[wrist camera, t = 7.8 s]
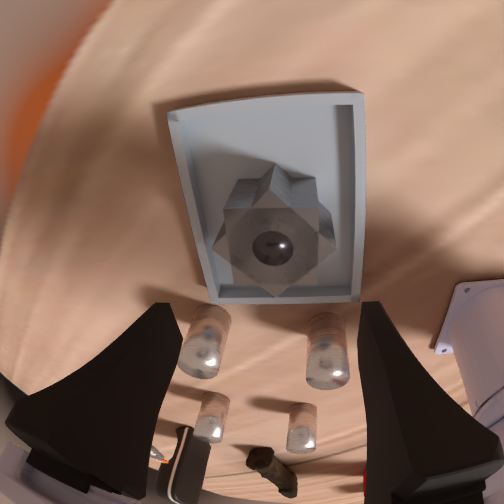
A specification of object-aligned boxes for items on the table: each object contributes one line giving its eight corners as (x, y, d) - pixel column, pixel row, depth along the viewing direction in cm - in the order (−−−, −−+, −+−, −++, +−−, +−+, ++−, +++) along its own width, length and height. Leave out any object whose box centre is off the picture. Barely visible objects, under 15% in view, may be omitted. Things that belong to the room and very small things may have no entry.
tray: (358, 91, 15) (364, 93, 14) (356, 287, 22) (359, 301, 20) (175, 108, 17) (165, 112, 15) (216, 290, 24) (211, 304, 22)
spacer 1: (227, 304, 24) (213, 354, 20) (234, 331, 26) (222, 380, 22) (190, 304, 25) (171, 352, 21) (199, 330, 26) (183, 377, 22)
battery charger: (169, 423, 39) (147, 493, 30) (192, 425, 38) (172, 499, 29) (191, 444, 43) (174, 506, 33) (213, 445, 41) (197, 511, 32)
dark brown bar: (247, 445, 40) (242, 472, 36) (274, 445, 39) (270, 473, 35) (282, 479, 49) (279, 499, 46) (302, 478, 48) (300, 499, 44)
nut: (331, 162, 17) (339, 188, 13) (328, 256, 20) (332, 298, 17) (220, 165, 18) (201, 191, 14) (233, 256, 21) (219, 296, 18)
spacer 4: (346, 312, 23) (352, 364, 19) (344, 338, 25) (347, 389, 21) (307, 313, 24) (306, 366, 20) (307, 339, 25) (306, 390, 21)
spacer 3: (317, 402, 31) (316, 443, 27) (316, 415, 32) (315, 453, 28) (289, 402, 31) (285, 443, 27) (290, 415, 33) (286, 453, 29)
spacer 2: (227, 393, 32) (218, 433, 28) (232, 406, 33) (224, 444, 29) (200, 391, 32) (189, 429, 28) (207, 404, 34) (197, 441, 30)
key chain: (137, 440, 48) (134, 446, 47) (154, 443, 47) (151, 450, 46) (165, 464, 55) (163, 470, 53) (181, 467, 54) (179, 473, 52)
